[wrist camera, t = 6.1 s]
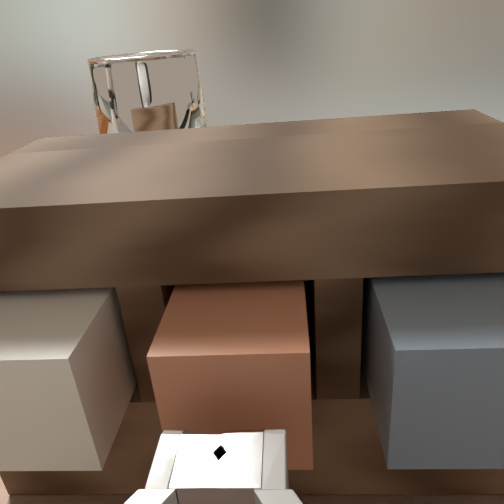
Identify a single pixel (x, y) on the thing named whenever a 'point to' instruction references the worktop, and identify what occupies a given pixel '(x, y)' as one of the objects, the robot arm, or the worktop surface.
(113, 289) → the white key
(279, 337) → the terracotta key
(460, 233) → the walnut console
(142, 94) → the beer glass
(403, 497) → the worktop surface
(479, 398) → the slate blue key
